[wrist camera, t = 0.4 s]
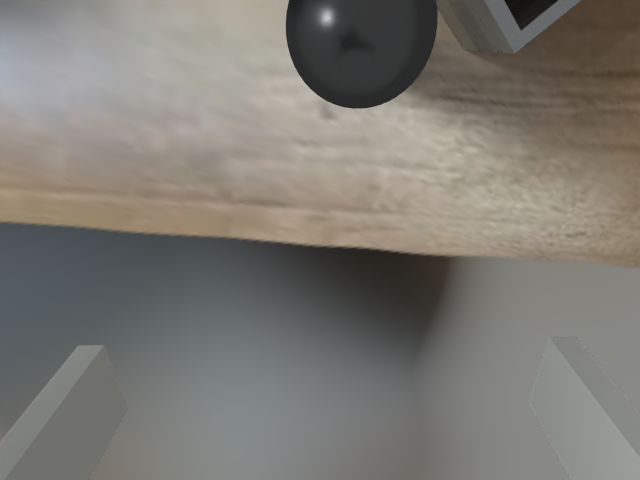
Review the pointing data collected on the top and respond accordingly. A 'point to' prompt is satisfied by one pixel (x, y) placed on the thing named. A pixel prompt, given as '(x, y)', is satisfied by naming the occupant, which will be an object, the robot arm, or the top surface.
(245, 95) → the top surface
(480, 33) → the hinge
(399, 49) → the pin
